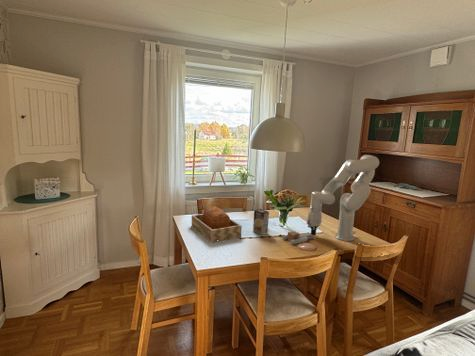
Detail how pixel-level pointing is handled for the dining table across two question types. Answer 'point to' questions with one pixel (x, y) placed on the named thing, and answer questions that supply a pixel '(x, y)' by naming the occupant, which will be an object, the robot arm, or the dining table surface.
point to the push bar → (306, 235)
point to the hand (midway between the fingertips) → (313, 234)
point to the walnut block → (293, 235)
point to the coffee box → (260, 221)
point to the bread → (215, 218)
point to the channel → (296, 239)
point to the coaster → (306, 246)
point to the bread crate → (216, 233)
